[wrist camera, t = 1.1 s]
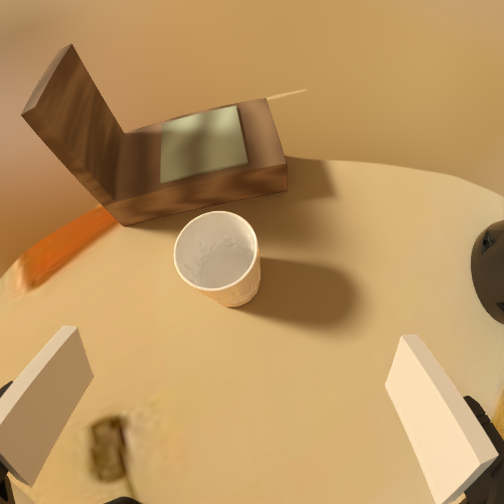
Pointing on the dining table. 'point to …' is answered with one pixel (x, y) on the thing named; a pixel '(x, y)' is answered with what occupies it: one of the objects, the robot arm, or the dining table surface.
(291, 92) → the dining table surface
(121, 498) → the drinking cup
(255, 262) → the white cup
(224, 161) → the walnut shelf
